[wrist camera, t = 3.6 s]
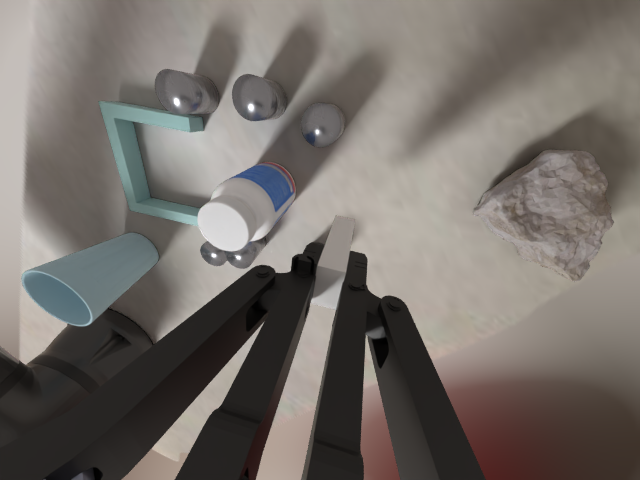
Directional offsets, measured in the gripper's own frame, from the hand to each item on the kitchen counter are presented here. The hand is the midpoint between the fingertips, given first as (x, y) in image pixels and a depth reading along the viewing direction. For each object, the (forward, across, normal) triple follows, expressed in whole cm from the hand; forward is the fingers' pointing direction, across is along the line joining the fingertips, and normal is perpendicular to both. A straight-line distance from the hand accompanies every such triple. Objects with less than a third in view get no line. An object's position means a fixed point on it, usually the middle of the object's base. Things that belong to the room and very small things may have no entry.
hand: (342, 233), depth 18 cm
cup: (+7, -27, -13) cm, 31 cm away
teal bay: (+7, -20, 0) cm, 21 cm away
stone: (+8, +15, +3) cm, 17 cm away
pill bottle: (+7, -8, 0) cm, 11 cm away
